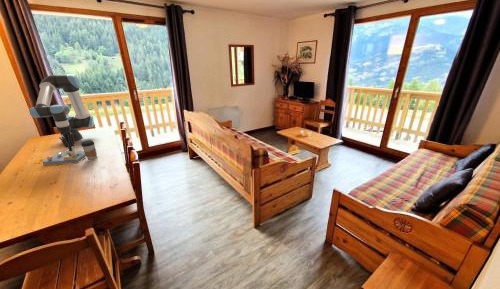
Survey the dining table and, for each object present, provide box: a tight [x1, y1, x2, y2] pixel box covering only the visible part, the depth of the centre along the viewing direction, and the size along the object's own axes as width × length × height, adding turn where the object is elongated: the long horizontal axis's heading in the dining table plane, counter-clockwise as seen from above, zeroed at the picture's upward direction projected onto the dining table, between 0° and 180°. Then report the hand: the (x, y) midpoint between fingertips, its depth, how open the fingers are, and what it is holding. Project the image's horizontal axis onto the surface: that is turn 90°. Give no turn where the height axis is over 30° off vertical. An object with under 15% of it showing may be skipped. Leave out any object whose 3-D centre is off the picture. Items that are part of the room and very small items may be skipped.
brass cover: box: [63, 154, 78, 161], centre depth 162 cm, size 6×6×4 cm
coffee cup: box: [80, 139, 98, 162], centre depth 166 cm, size 8×8×15 cm
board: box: [42, 150, 87, 166], centre depth 169 cm, size 17×24×2 cm
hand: (73, 154), depth 166 cm, fingers closed
